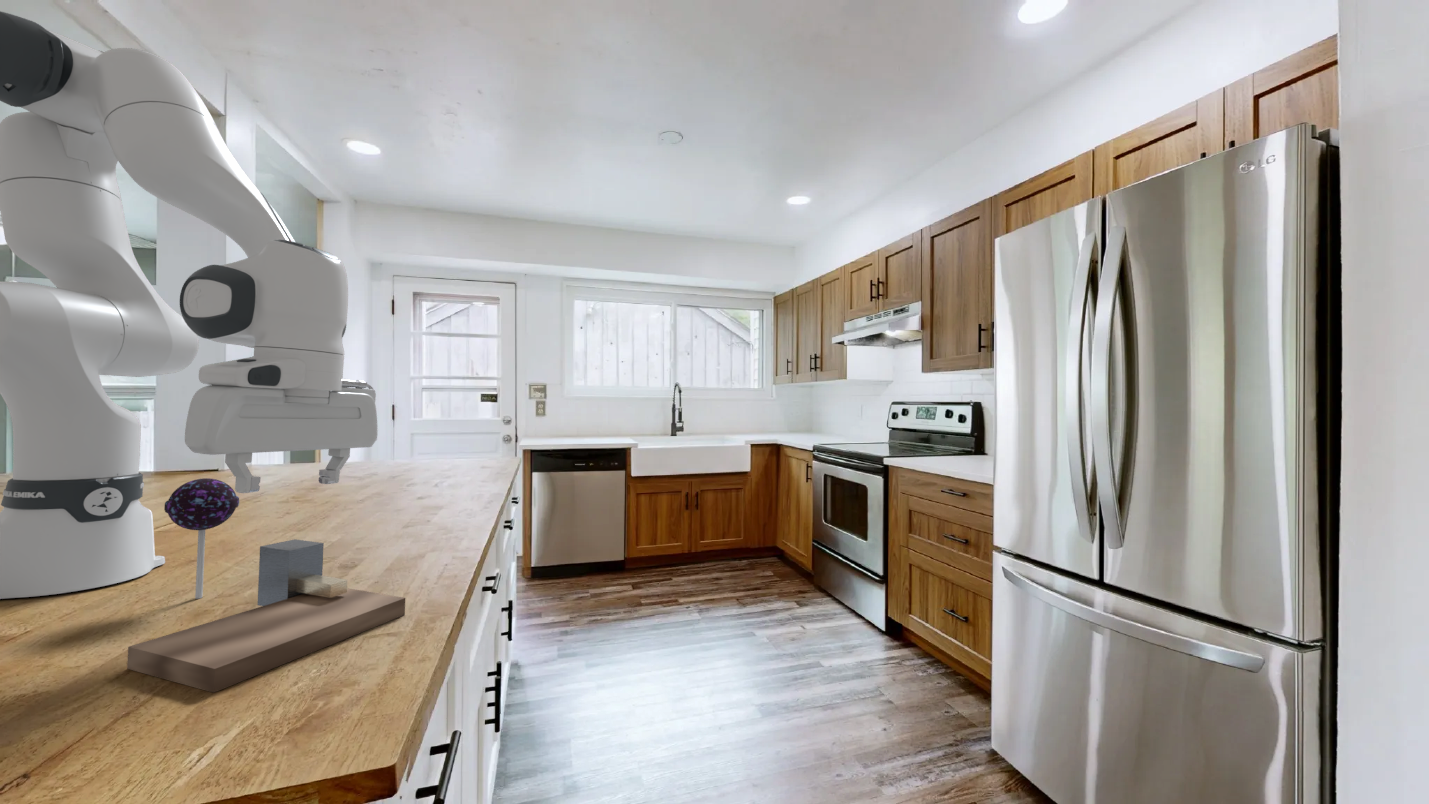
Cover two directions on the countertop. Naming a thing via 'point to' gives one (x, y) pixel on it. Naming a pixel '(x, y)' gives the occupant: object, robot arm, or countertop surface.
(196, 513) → the lollipop
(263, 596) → the upright grey metal block
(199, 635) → the board
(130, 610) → the countertop surface
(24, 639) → the countertop surface
